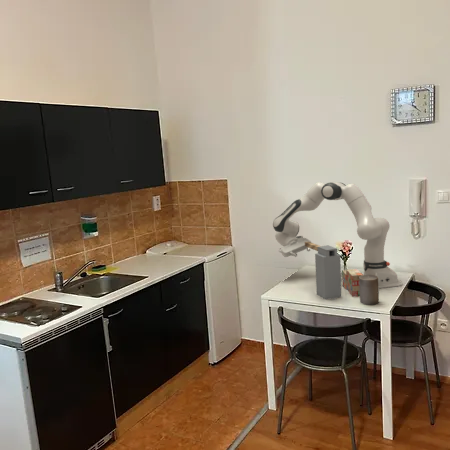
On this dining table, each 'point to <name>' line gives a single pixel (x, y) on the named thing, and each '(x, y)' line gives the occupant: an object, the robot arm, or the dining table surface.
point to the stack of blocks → (352, 281)
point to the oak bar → (312, 245)
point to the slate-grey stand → (328, 272)
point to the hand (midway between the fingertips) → (302, 252)
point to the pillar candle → (369, 289)
